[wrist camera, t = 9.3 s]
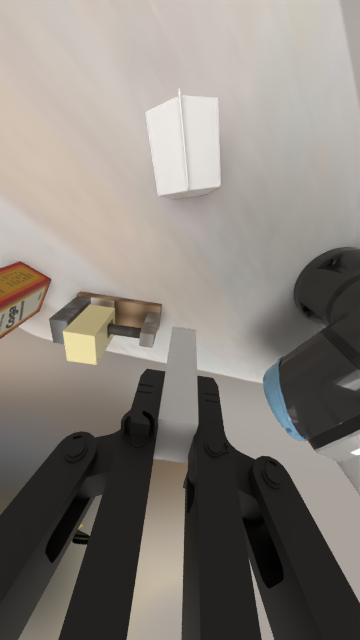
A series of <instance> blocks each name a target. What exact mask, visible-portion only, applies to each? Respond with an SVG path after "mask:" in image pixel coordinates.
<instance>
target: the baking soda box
mask: <svg viewBox="0 0 360 640" xmlns="http://www.w3.org/2000/svg"><path fill="white" fill-rule="evenodd" d="M50 282H51V279H50V278H48V277H47V276H45V275H43V274H41V273H40V272H38V271H36V270H34V269H33V268H31V267H29V266H28V265H26V264H24V263H22V262H18V263H15V264H12V265H9V266H6V267H3V268H0V339H1V338H2V337H4V336H5V335H6V334H8V333H9V332H11V331H12V330H13V329H15V328H16V327H18V326H19V325H21V324H22V323H23V322H25V321H26V320H28V319H29V318H31V317H32V316H33V315H35V314H36V313H38V312H39V311H40V308H41V305H42V303H43V300H44V297H45V295H46V292H47V290H48V287H49V284H50Z"/></svg>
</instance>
